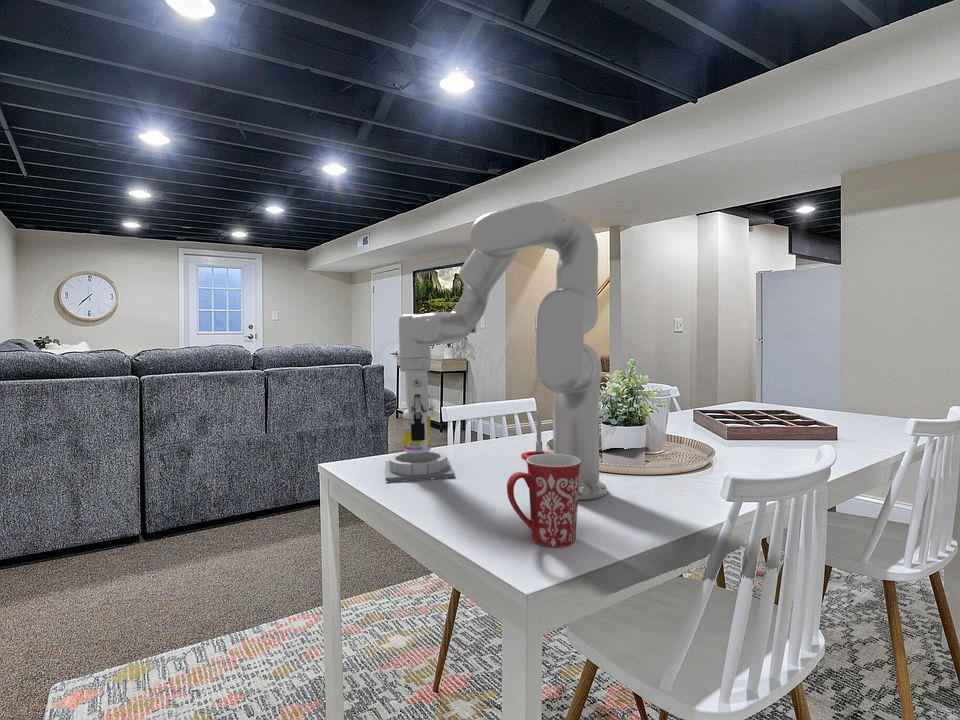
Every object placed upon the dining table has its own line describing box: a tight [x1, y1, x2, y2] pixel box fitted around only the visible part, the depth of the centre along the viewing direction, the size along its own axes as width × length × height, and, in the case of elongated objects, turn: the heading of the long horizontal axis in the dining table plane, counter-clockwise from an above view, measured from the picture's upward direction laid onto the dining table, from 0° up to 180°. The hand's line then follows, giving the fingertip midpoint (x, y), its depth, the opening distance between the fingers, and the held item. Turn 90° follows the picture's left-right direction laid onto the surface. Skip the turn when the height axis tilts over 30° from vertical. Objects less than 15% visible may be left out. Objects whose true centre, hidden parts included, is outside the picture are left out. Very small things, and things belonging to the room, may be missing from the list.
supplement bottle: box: [402, 398, 432, 454], centre depth 137 cm, size 7×7×13 cm
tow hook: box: [520, 411, 553, 460], centre depth 149 cm, size 8×13×9 cm
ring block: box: [384, 450, 456, 482], centre depth 138 cm, size 16×16×4 cm
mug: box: [506, 453, 581, 548], centre depth 92 cm, size 13×9×14 cm
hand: (417, 436), depth 138 cm, fingers closed on supplement bottle, 6 cm apart
